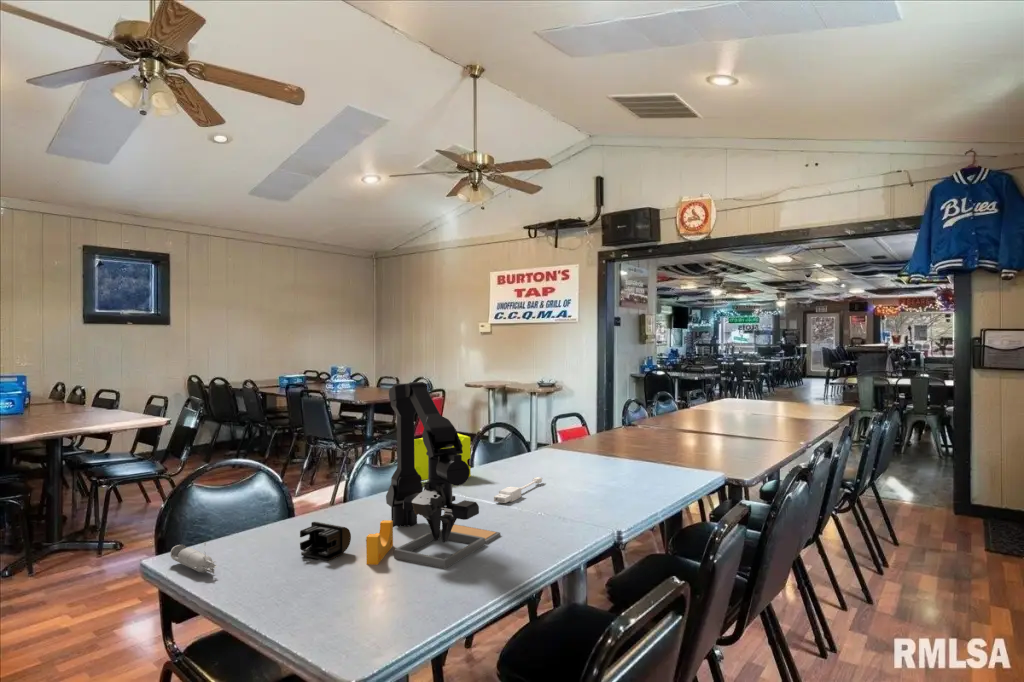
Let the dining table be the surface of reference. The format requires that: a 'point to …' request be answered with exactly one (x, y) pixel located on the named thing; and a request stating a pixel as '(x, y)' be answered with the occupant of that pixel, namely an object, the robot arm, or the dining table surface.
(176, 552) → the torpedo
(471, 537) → the gray rectangular frame
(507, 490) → the charging cable
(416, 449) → the cheese wedge
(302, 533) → the end cap
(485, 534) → the lid
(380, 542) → the pipe clamp
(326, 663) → the dining table surface
